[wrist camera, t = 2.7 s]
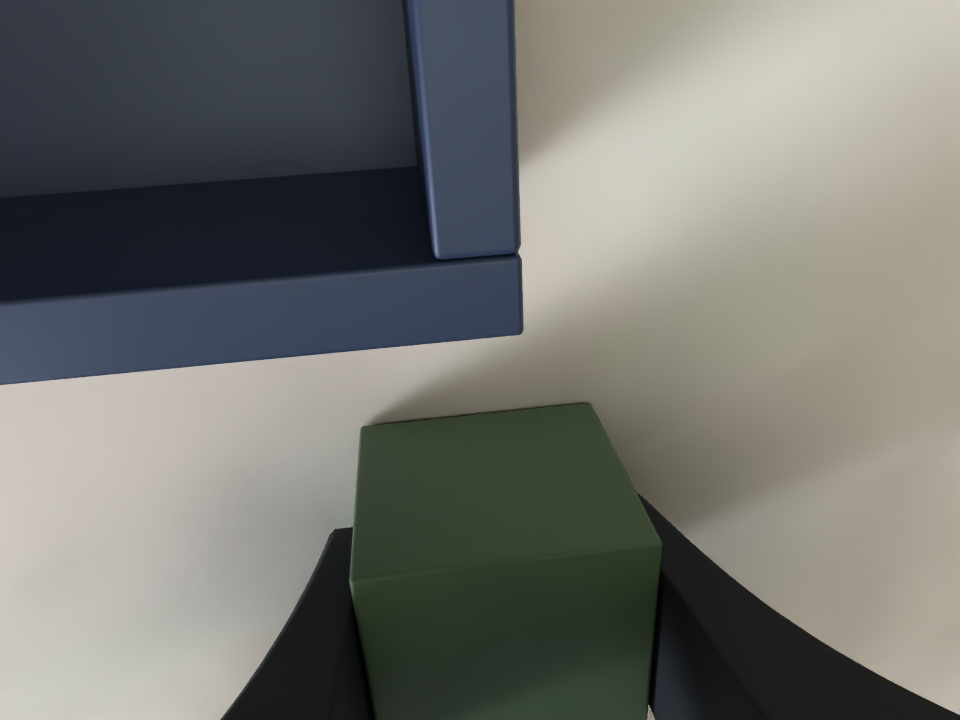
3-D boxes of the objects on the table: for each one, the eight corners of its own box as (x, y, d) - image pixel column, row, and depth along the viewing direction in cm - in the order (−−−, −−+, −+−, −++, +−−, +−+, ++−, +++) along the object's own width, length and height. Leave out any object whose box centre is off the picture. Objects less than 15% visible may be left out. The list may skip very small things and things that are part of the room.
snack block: (587, 573, 15) (646, 743, 12) (386, 598, 15) (386, 781, 11) (591, 400, 13) (664, 542, 10) (359, 425, 13) (348, 581, 9)
